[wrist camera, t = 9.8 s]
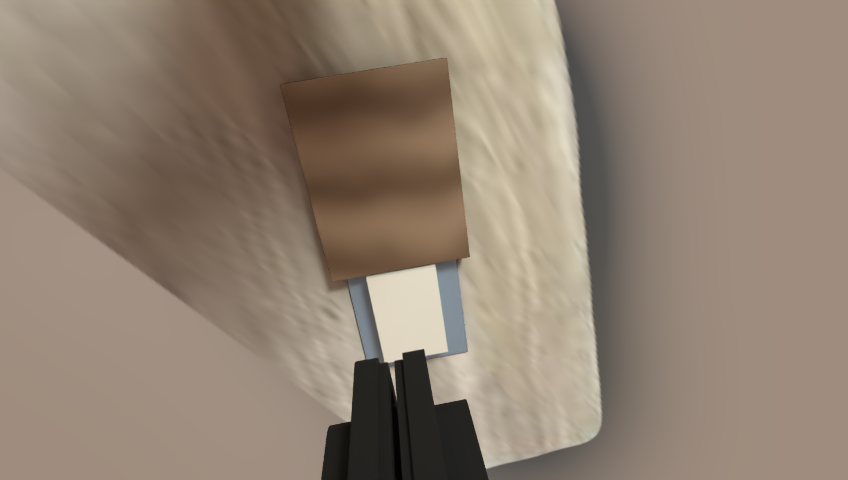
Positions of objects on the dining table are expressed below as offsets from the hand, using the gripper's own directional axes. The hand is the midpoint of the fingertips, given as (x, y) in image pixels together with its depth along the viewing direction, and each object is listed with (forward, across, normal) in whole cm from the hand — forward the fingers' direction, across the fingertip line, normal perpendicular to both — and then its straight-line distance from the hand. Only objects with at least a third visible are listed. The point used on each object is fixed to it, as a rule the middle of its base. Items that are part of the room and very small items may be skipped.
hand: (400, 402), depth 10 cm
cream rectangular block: (+27, 0, +14) cm, 30 cm away
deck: (+27, 0, +1) cm, 27 cm away
